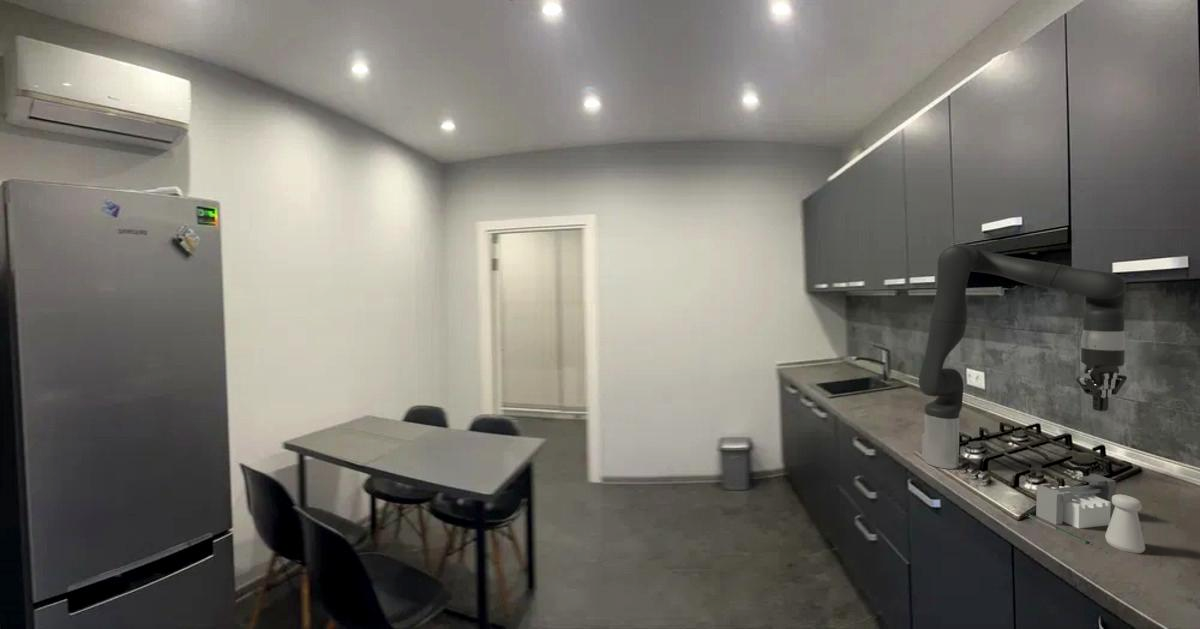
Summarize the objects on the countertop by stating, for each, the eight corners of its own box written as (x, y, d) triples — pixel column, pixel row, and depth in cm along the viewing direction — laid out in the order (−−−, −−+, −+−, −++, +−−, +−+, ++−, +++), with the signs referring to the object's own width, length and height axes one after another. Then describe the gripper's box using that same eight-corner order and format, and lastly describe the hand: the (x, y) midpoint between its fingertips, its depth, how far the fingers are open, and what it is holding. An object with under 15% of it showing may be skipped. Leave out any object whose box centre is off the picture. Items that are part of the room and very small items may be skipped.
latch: (1079, 510, 111) (1080, 475, 111) (1094, 509, 112) (1095, 474, 111) (1099, 519, 107) (1100, 482, 107) (1114, 517, 108) (1115, 480, 107)
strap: (1046, 492, 109) (1046, 487, 109) (1088, 488, 111) (1088, 483, 111) (1060, 498, 106) (1061, 493, 106) (1104, 494, 107) (1104, 488, 107)
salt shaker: (1135, 562, 93) (1137, 505, 92) (1098, 547, 98) (1100, 493, 98) (1151, 556, 95) (1153, 500, 94) (1114, 542, 100) (1116, 489, 99)
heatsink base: (1012, 509, 116) (1012, 475, 115) (1077, 501, 118) (1078, 469, 118) (1084, 543, 100) (1086, 505, 99) (1158, 534, 102) (1160, 496, 102)
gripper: (1099, 350, 108) (1097, 416, 109) (1142, 347, 110) (1140, 412, 111) (1064, 346, 116) (1062, 408, 117) (1105, 343, 117) (1103, 404, 118)
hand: (1100, 410), depth 114 cm, fingers closed
